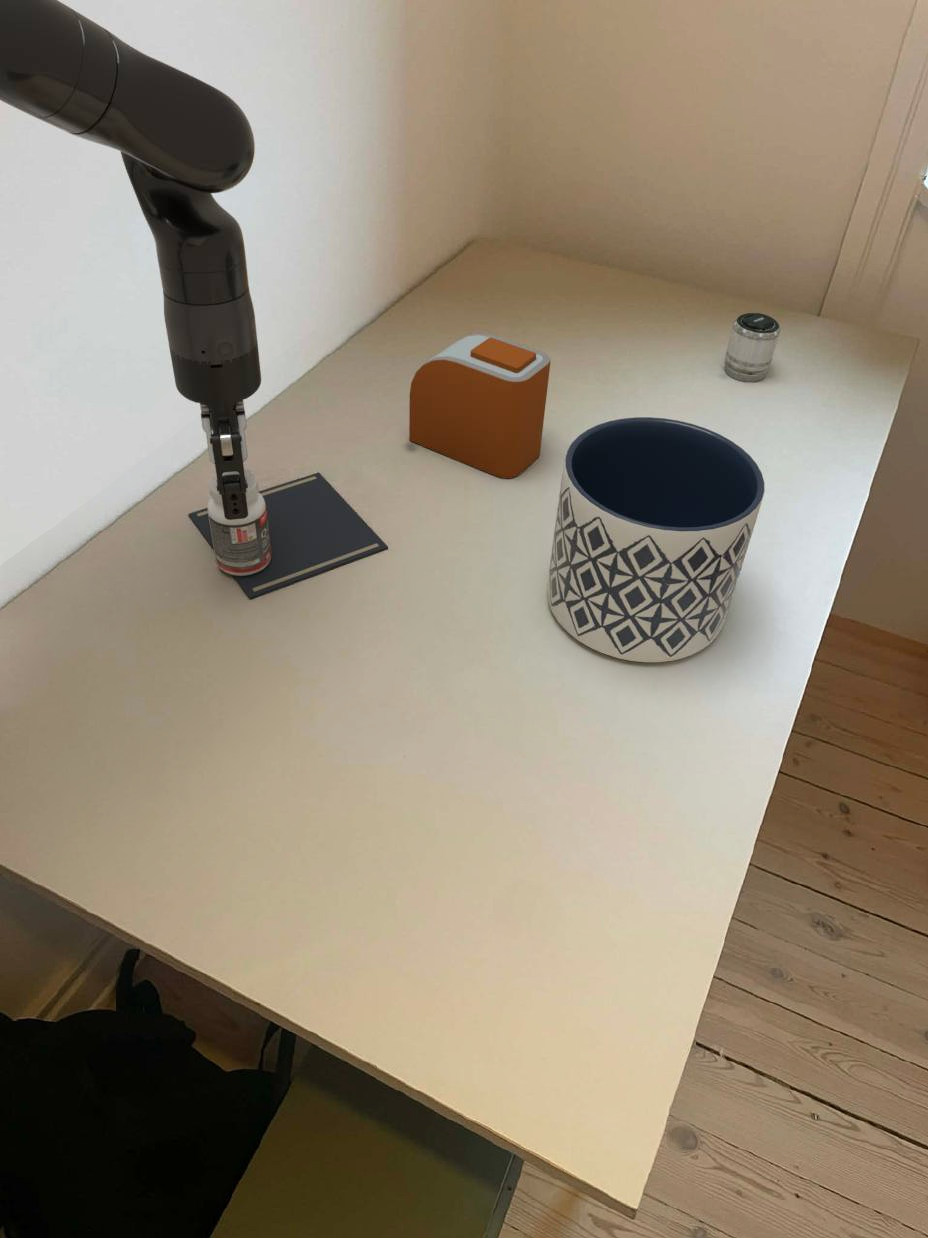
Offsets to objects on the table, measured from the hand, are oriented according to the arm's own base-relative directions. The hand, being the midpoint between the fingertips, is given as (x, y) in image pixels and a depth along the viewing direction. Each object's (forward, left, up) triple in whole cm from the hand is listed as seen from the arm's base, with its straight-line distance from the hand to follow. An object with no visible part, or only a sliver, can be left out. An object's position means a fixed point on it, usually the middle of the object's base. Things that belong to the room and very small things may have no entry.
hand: (233, 491), depth 95 cm
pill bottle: (0, 0, -9) cm, 9 cm away
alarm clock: (+26, +22, -9) cm, 35 cm away
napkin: (+4, +5, -9) cm, 11 cm away
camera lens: (+65, +41, -9) cm, 77 cm away
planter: (+40, -7, -9) cm, 42 cm away
